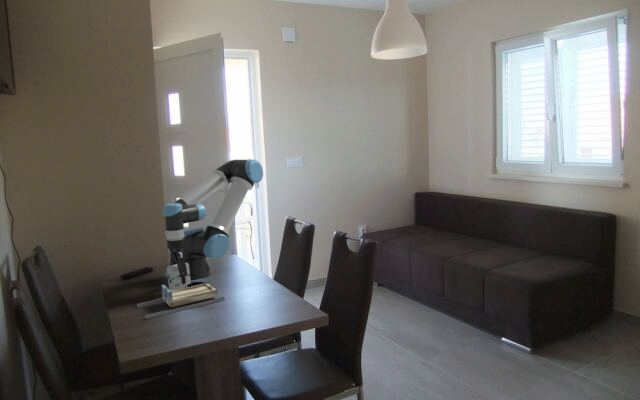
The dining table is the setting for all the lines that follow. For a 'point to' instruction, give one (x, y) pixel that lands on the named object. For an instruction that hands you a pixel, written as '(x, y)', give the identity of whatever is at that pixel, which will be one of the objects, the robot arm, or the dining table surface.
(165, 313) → the track
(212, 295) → the wooden tray
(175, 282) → the ink box
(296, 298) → the dining table surface
